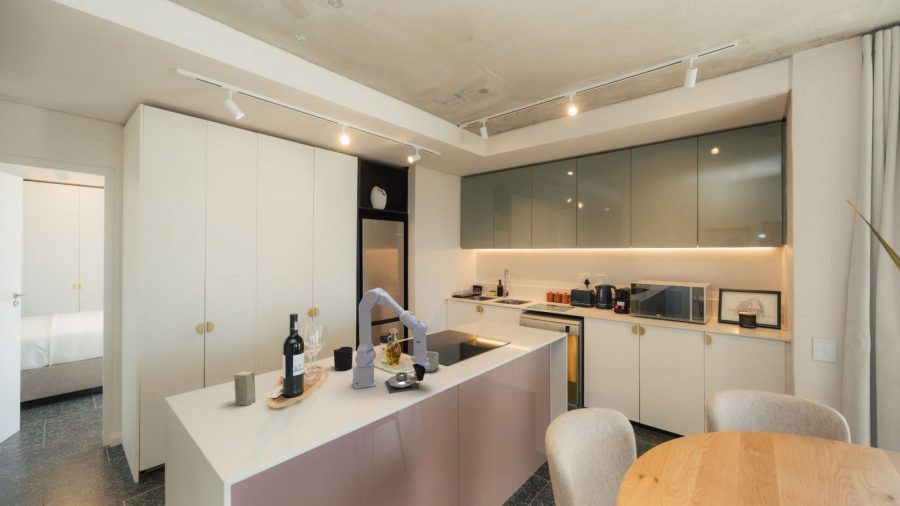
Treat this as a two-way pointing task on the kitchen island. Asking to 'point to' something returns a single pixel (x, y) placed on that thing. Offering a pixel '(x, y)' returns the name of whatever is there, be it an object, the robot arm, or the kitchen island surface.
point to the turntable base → (394, 389)
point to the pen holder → (343, 358)
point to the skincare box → (244, 388)
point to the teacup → (432, 360)
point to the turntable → (408, 382)
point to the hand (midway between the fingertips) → (420, 380)
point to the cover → (401, 376)
